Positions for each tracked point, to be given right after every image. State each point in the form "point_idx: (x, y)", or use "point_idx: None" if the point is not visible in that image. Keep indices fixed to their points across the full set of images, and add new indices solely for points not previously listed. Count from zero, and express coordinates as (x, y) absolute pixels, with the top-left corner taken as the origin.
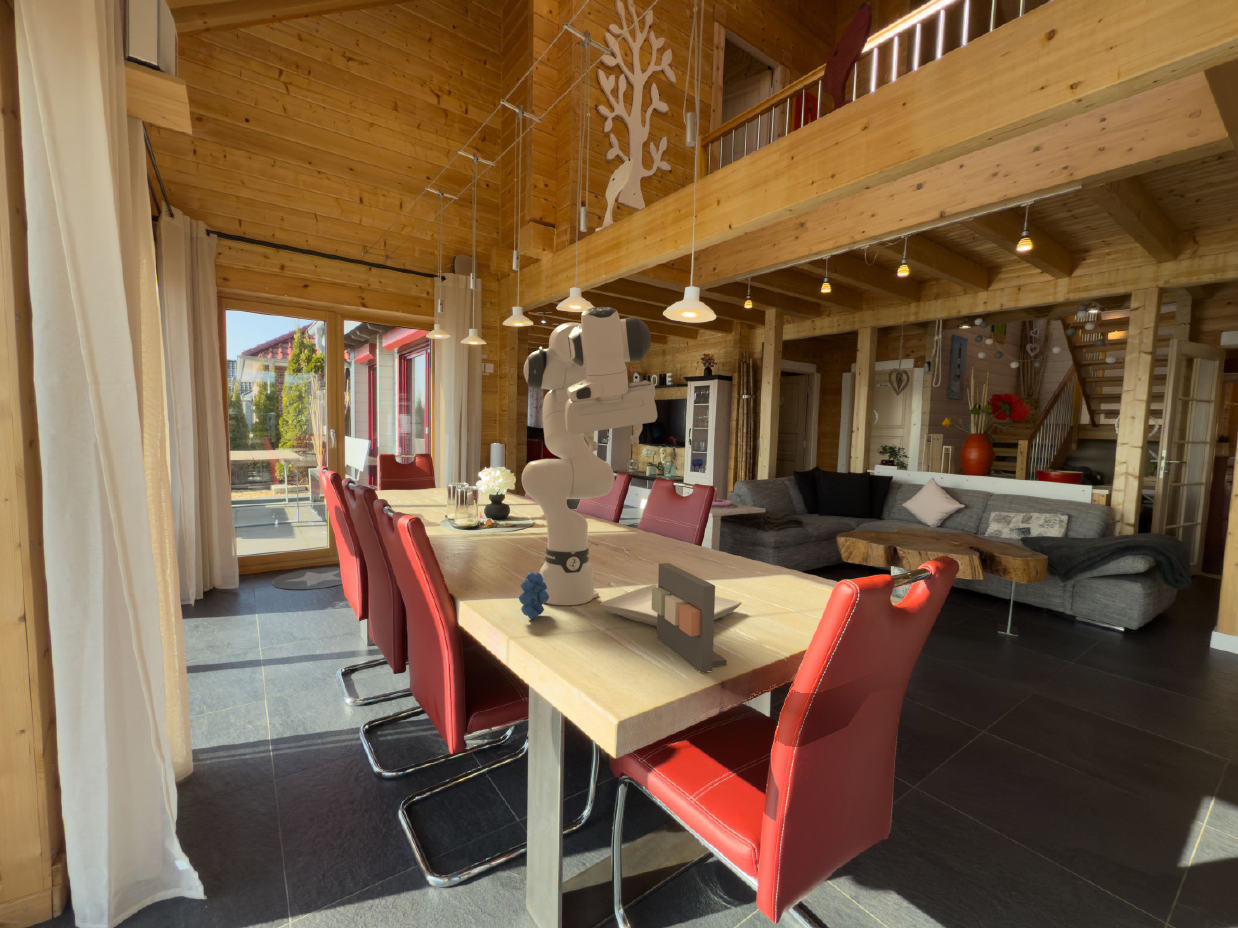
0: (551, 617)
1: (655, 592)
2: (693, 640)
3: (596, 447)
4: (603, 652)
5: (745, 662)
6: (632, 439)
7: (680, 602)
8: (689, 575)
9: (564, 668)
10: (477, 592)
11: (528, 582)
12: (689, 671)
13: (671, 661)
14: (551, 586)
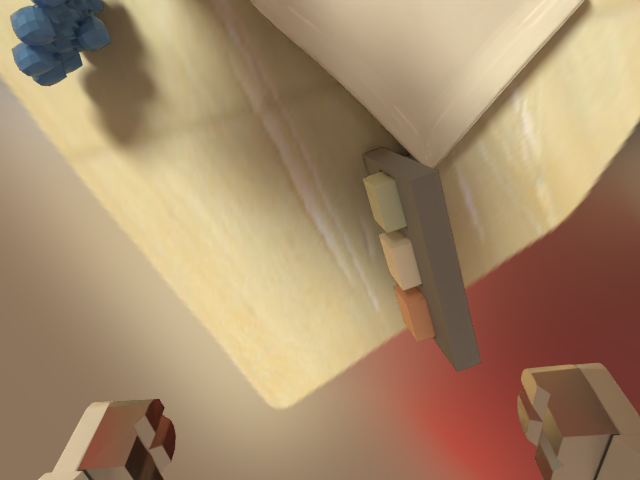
0: (129, 16)
1: (377, 203)
2: None
3: (161, 468)
4: (260, 226)
5: (478, 256)
6: (541, 465)
7: (412, 286)
8: (454, 293)
9: (199, 290)
10: None
11: (36, 67)
12: (387, 290)
13: (368, 257)
14: None
